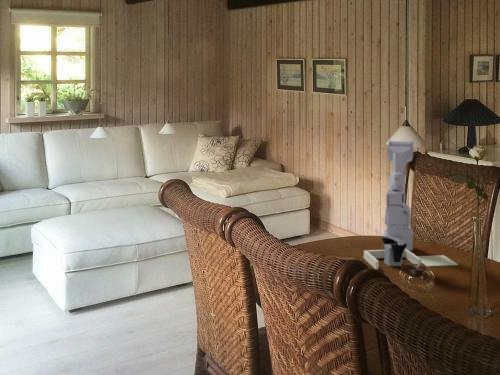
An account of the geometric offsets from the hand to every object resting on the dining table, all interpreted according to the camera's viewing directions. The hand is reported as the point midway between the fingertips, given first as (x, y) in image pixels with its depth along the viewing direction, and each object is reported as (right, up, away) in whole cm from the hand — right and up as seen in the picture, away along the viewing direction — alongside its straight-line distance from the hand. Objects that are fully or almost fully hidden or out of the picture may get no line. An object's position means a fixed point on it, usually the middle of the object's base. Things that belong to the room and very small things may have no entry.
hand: (393, 258), depth 224 cm
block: (0, -2, 0) cm, 2 cm away
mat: (+17, -1, +4) cm, 17 cm away
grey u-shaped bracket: (0, -2, +1) cm, 2 cm away
